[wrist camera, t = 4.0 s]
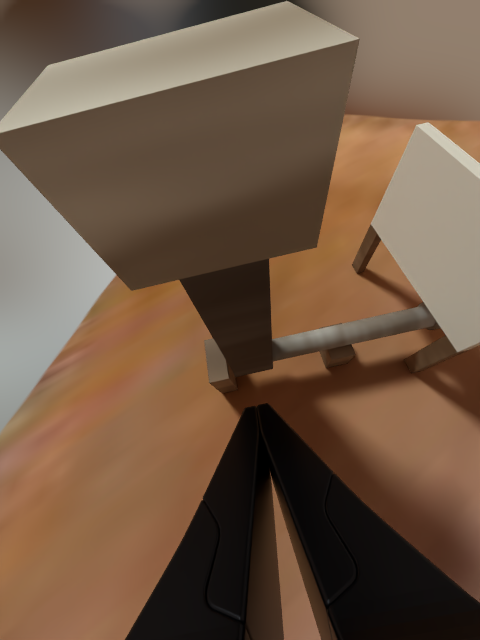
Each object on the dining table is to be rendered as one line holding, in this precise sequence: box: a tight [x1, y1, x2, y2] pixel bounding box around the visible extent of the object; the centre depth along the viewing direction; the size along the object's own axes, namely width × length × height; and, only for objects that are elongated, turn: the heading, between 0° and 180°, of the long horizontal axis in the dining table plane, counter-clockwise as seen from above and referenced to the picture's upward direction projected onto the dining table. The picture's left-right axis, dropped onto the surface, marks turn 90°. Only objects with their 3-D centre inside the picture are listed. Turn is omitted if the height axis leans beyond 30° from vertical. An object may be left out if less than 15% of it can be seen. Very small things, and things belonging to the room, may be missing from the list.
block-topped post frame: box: [0, 1, 441, 377], centre depth 9 cm, size 3×14×14 cm, turn 100°
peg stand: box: [204, 225, 467, 393], centre depth 16 cm, size 10×14×4 cm
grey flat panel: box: [371, 122, 480, 352], centre depth 12 cm, size 10×1×6 cm, turn 11°
